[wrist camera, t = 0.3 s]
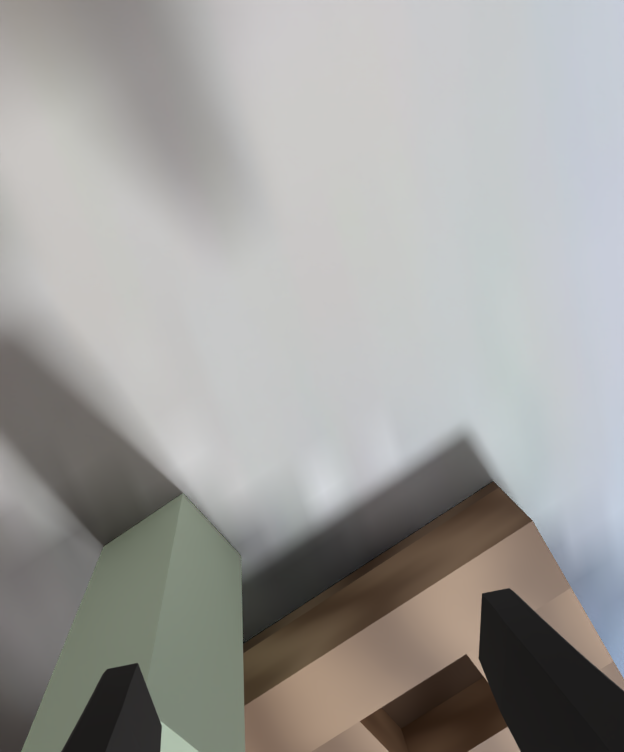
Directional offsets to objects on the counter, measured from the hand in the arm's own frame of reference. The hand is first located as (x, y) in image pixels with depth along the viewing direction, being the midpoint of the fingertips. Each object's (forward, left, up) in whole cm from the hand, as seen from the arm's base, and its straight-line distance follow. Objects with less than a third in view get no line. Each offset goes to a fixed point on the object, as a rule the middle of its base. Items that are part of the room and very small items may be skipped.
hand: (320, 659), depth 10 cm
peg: (-6, -1, -10) cm, 12 cm away
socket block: (-1, -14, -10) cm, 17 cm away
